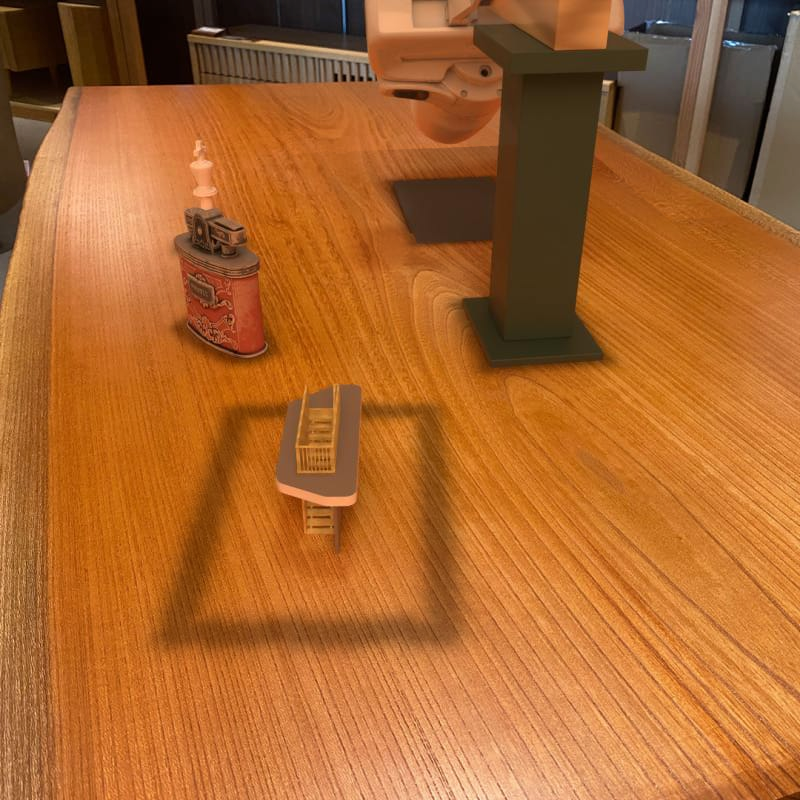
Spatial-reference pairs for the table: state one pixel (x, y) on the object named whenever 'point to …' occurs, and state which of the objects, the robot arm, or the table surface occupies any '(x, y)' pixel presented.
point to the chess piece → (203, 176)
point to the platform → (322, 455)
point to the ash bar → (559, 21)
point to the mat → (448, 208)
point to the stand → (542, 195)
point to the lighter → (221, 284)
